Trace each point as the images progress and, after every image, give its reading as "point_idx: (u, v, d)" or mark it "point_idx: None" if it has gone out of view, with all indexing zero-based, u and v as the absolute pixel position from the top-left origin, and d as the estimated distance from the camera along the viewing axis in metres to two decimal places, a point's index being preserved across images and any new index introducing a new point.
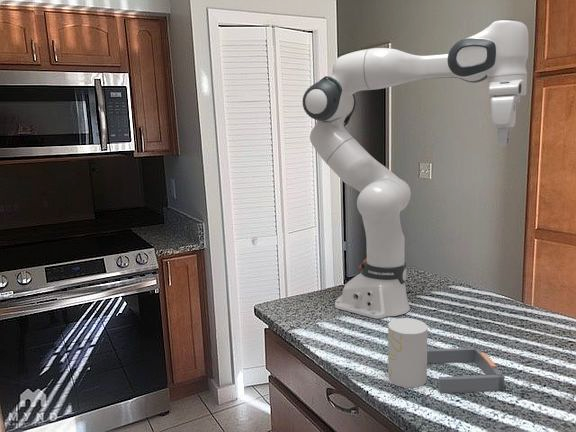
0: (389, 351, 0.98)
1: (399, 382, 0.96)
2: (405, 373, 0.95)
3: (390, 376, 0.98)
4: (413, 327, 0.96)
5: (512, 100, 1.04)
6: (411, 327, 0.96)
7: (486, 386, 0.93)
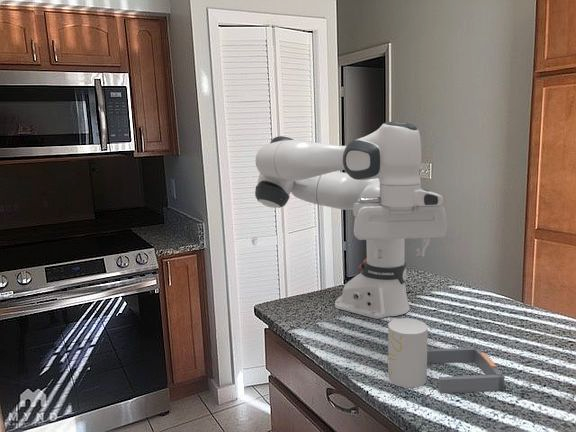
0: (389, 351, 0.98)
1: (399, 382, 0.96)
2: (405, 373, 0.95)
3: (390, 376, 0.98)
4: (413, 327, 0.96)
5: None
6: (411, 327, 0.96)
7: (486, 386, 0.93)
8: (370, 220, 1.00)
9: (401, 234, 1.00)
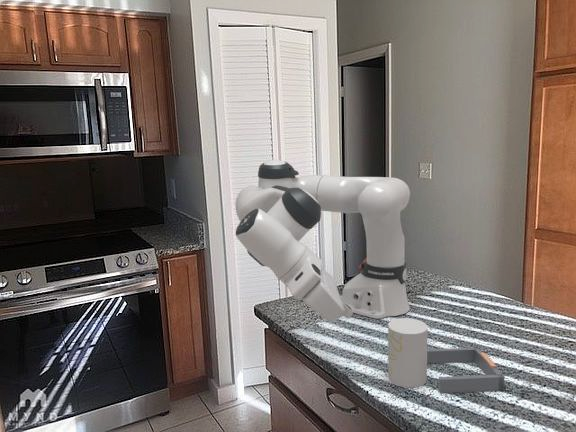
0: (389, 351, 0.98)
1: (399, 382, 0.96)
2: (405, 373, 0.95)
3: (390, 376, 0.98)
4: (413, 327, 0.96)
5: (323, 288, 0.86)
6: (411, 327, 0.96)
7: (486, 386, 0.93)
8: None
9: None
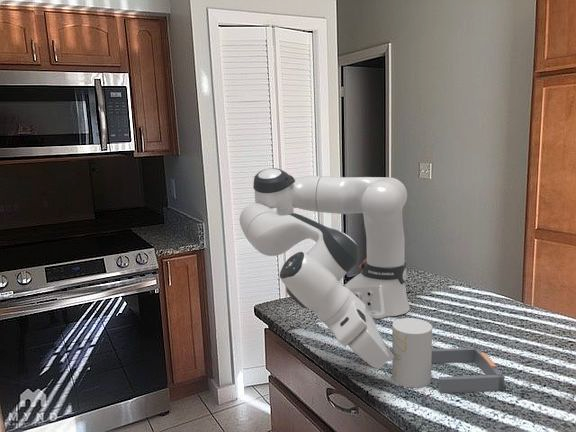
0: (393, 351, 0.97)
1: (404, 382, 0.96)
2: (410, 372, 0.95)
3: (395, 376, 0.98)
4: (418, 327, 0.96)
5: (370, 336, 0.87)
6: (416, 327, 0.96)
7: (486, 386, 0.93)
8: None
9: None
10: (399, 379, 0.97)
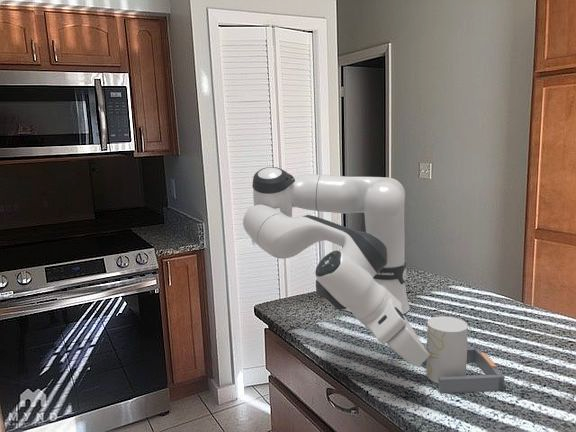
0: (429, 350, 0.97)
1: None
2: (447, 371, 0.95)
3: (430, 375, 0.98)
4: (454, 325, 0.96)
5: (409, 334, 0.87)
6: (452, 325, 0.96)
7: (486, 386, 0.93)
8: None
9: None
10: (435, 377, 0.97)
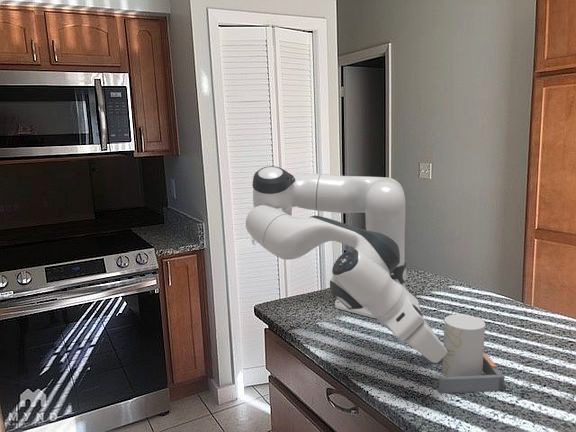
0: (446, 347, 0.98)
1: None
2: (464, 368, 0.95)
3: (446, 372, 0.98)
4: (471, 323, 0.97)
5: (428, 330, 0.87)
6: (469, 323, 0.97)
7: (486, 386, 0.93)
8: None
9: None
10: (452, 375, 0.97)
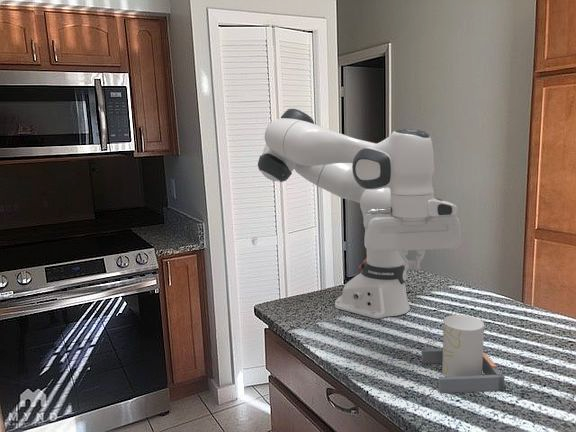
0: (445, 348, 0.98)
1: None
2: (464, 369, 0.96)
3: (446, 373, 0.98)
4: (470, 323, 0.97)
5: None
6: (468, 323, 0.97)
7: (486, 386, 0.93)
8: (382, 231, 0.96)
9: (414, 245, 0.96)
10: (451, 376, 0.97)
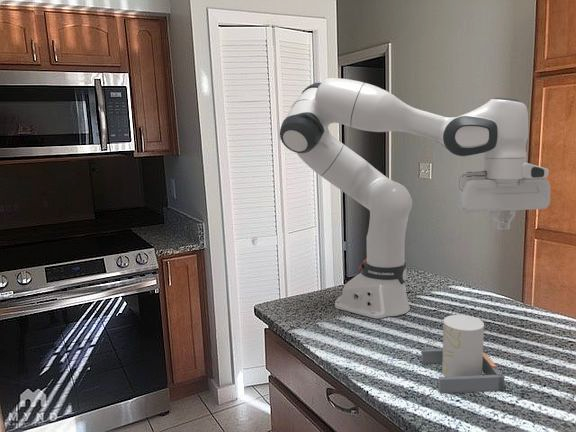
0: (445, 348, 0.98)
1: None
2: (464, 369, 0.96)
3: (446, 373, 0.98)
4: (470, 323, 0.97)
5: None
6: (468, 323, 0.97)
7: (486, 386, 0.93)
8: (477, 192, 1.04)
9: (506, 206, 1.05)
10: (451, 376, 0.97)
